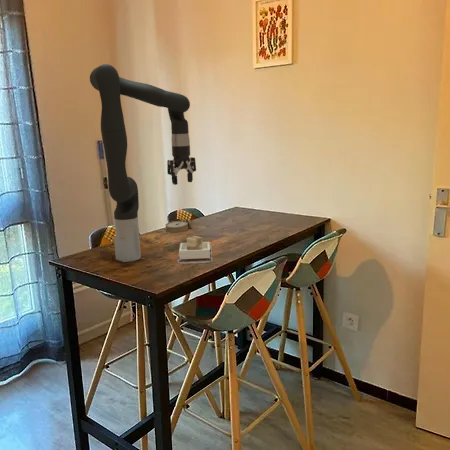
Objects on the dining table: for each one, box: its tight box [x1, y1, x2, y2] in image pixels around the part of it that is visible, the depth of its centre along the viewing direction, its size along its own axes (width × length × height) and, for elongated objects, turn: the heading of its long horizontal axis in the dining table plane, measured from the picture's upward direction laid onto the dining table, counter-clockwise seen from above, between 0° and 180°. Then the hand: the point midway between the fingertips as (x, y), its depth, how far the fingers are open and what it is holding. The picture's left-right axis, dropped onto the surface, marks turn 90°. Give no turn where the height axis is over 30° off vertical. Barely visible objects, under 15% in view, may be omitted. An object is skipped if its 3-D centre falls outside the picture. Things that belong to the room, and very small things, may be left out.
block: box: [186, 235, 203, 250], centre depth 190 cm, size 4×4×6 cm
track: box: [176, 243, 214, 265], centre depth 195 cm, size 25×14×1 cm, turn 3°
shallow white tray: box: [177, 241, 213, 260], centre depth 190 cm, size 12×13×4 cm
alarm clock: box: [163, 218, 193, 234], centre depth 237 cm, size 11×5×15 cm
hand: (182, 183), depth 200 cm, fingers open, 8 cm apart
